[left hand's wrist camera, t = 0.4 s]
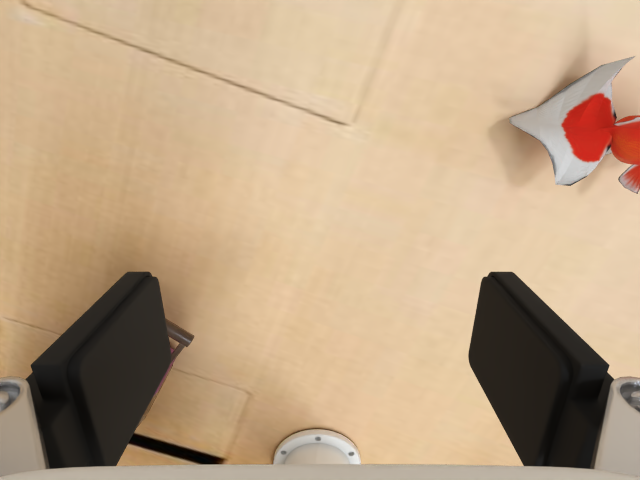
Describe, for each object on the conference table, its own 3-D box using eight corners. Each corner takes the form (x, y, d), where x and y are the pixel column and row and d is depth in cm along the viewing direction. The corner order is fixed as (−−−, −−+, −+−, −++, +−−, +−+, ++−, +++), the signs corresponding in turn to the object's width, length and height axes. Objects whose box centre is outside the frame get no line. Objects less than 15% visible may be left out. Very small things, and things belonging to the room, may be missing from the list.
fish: (629, 237, 38) (703, 219, 28) (480, 168, 42) (500, 132, 32) (684, 143, 38) (777, 93, 28) (529, 83, 42) (565, 21, 32)
